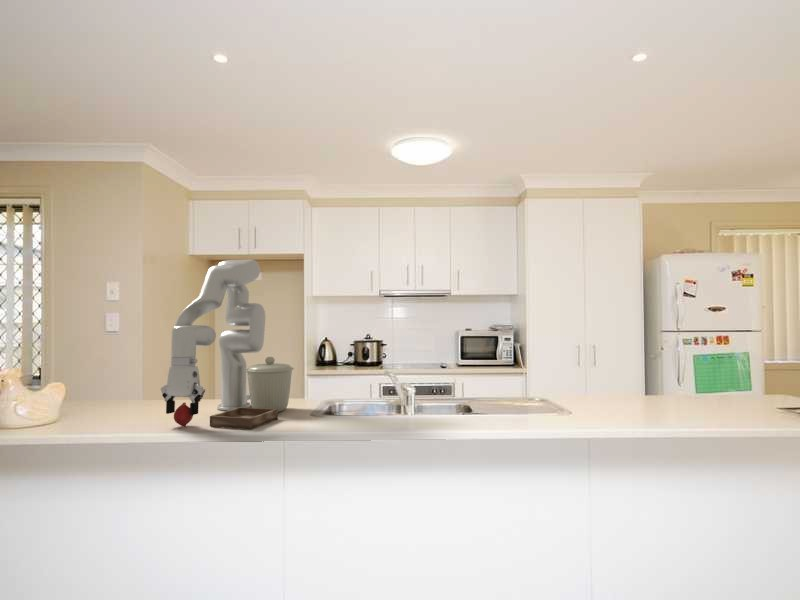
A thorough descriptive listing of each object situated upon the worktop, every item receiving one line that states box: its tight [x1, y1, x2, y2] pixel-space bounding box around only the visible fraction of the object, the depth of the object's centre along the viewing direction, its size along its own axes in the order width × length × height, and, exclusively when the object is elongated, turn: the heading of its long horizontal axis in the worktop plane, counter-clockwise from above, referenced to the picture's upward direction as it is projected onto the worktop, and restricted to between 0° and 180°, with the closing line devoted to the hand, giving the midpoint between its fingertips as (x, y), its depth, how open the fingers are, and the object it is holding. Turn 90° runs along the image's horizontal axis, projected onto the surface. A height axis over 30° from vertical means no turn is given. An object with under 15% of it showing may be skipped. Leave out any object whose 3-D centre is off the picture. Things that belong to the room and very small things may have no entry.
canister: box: [246, 356, 295, 413], centre depth 179 cm, size 18×18×21 cm
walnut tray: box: [209, 407, 279, 430], centre depth 159 cm, size 16×16×4 cm
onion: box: [173, 402, 194, 427], centre depth 154 cm, size 6×6×8 cm
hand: (182, 413), depth 153 cm, fingers open, 9 cm apart
